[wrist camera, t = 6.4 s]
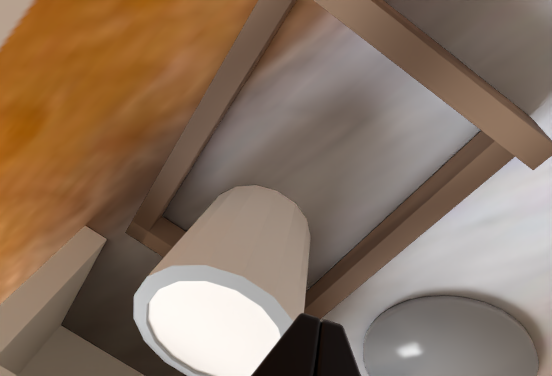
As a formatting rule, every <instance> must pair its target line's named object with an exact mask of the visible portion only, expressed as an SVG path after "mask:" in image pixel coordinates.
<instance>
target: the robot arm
mask: <svg viewBox="0 0 552 376" xmlns="http://www.w3.org/2000/svg"><path fill="white" fill-rule="evenodd" d="M251 376H361V374H360V372H359V369H358V366H357V363H356V361H355V358H354V355H353V352H352V349H351V347H350V344H349V341H348V338H347V336H346V333H345V330H344V328H343V326H342V325H340V324H338V323H334V322H331V321H328V320H322V321H320V319H319V318H318V317H315V316H312V315H309V314H306V313H301V314H299V315H298V316H297V318H296V319H295V320H294V321H293V323H292V324H291V325H290V327H289V328H288V329H287V330H286V332H285V333H284V334H283V335H282V337H281V338H280V339H279V341H278V342H277V343H276V344H275V346H274V347H273V348H272V349H271V351H270V352H269V353H268V355H267V356H266V357H265V358H264V360H263V361H262V362H261V363H260V365H259V366H258V367H257V369H256V370H255V371H254V372H253V374H252V375H251Z"/></svg>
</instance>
